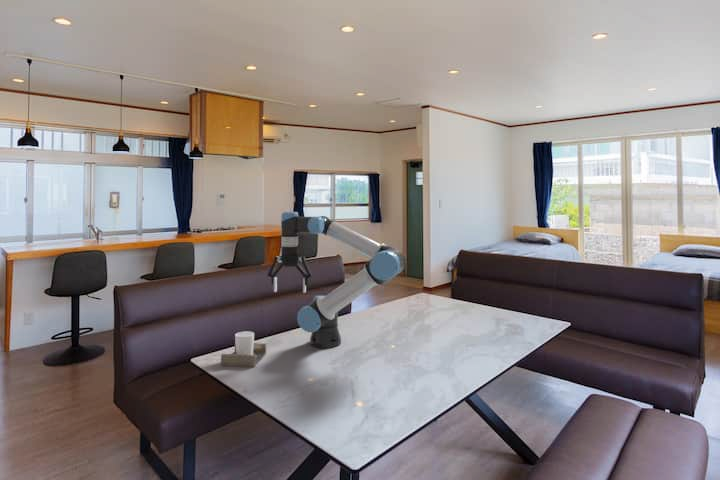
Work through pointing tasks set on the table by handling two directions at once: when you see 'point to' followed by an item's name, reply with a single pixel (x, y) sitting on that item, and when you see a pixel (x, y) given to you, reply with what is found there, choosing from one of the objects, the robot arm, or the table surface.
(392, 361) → the table surface
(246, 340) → the white cup
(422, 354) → the table surface
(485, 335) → the table surface
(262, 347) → the port dock
